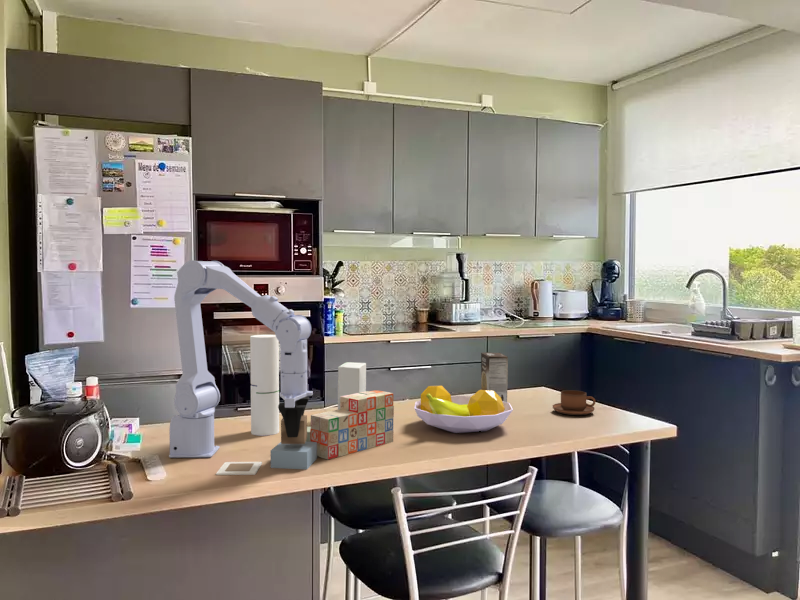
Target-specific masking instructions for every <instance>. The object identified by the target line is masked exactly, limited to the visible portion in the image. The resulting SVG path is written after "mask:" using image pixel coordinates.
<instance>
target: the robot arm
mask: <svg viewBox="0 0 800 600" xmlns="http://www.w3.org/2000/svg"><path fill="white" fill-rule="evenodd" d="M176 274H177V275H176V276H177V285H176V289H175V292H174V297H173V299H174V309H175V317H176V318H175V319H176V324H177V325H176V326H177V335H178V344H179V346H178V347H179V352H180V354H179V355H180V362H181V372H182V375H181V376H180V378H179V379H178V380H177V382H176V383H175V395H174V398H173V406H174V409H175V410H176V412H177V413H178V414H175V415H173V416H172V417H171V419H170V423H169V455H168V457H169V458H211V457H213V456H214V455H215V453H216V452H217V451H218V450H219V449H220V446H219V445H215V412H216V407H217V406H218V405H219V404H220V403H219V402H220V401H221V393H220V390H219V388H218V386H217V385H216V381H215V380H216V378H215V376H214V375H213V374H212V373H211V372H210V371H209V370H208V362H207V353H206V344H205V335H204V326H203V318H202V308H201V303H202V302H203V301H204V300H205V298H207V296H208V295H209V294H211V293H213V292H214V291H215V290H219V289H220V290H223V291H225V292H227V293H229V294H230V295H231V296H233V297H235V298H236V299H237V300H239V301H240V302H242V303H243V304H245V305H246V306H248V307H249V308H251V314H252V316H253V317H254V318H255V319H256V320H257V321H259V322H260V323H261V324H263V325H264V326H266V327H267V328H268V329H270V330H271V331H272V332H274V335H276V338H277V339H278V341H279V349H280V350H279V351H280V352H279V354H280V391H279V398H282V399H283V400H282V401H283V403H279V405H278V409H279V414H281V417H282V418H283V420H284V423H285V428H286V433H287V436H288V437H298V433H299V427H300V420H301V416H302V415H304V414H305V410H306V408H307V404H308V402H309V400H310V397H312V396H313V394H314V393H313V392H314V391H312V390H308V339H309V337H310V336H311V334H312V324H311V322H310V320H309V319H307V317H306V315H302V314H295V311H294V310H293V309H292V308H291V309H288V308H287V307H286V306H284V305H283V304H281V302H279V301H278V300H279V298H278V297H276V295H269V294H265V295H261V294H259V293H258V292H257V291H256V290H255V289H253V288H252V287H251V286H250V285H248V284H247V283H246V282H245V281H244V280H243V279H241V278H240V277H239V276H238V275H236V274H235V273H234V272H233V270H232V269H231V268H230V267H228V266H226V265H224V264H223V263H222V262H220V261H218V260H211V261H208V260H207V261H203V260H193V259H191V260H188V261H186V262H185V263H184V264H183V265H182V266H181V267H180V268H179V269H178V270H177V271H176Z"/></svg>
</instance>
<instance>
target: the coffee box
mask: <svg viewBox="0 0 800 600" xmlns="http://www.w3.org/2000/svg"><path fill="white" fill-rule="evenodd" d="M480 355H481V356H480V390H491V391H495V392H496V393H497V394H498V395H499V396H500V397H501V399H502V401H504V402H507V403H508V381H509V379H508V376H509V373H508V372H509V371H508V370H509V369H508V368H509V364H508V363H509V358H508V356H507V355H505V354H503V353H502V352H485V351H484V352H480Z"/></svg>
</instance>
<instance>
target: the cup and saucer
mask: <svg viewBox="0 0 800 600" xmlns="http://www.w3.org/2000/svg"><path fill="white" fill-rule="evenodd" d="M587 400H592V403H591V404H589V403H587ZM595 404H596V399H595V398H594V397H593V396H590V395H589V396H587V392H585V391H582V390H575V389H574V390H573V389H572V390H562V391H560V402H558V403H553V404H552V409H553V410H554V411H555V412H557V413H560V414H563V415H567V416H583V415H584V416H585V415H590V414H592V413H593V412H594V411H595V410H596V409H595V407H594V406H595Z"/></svg>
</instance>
